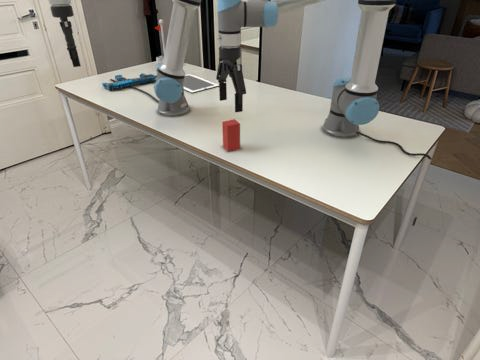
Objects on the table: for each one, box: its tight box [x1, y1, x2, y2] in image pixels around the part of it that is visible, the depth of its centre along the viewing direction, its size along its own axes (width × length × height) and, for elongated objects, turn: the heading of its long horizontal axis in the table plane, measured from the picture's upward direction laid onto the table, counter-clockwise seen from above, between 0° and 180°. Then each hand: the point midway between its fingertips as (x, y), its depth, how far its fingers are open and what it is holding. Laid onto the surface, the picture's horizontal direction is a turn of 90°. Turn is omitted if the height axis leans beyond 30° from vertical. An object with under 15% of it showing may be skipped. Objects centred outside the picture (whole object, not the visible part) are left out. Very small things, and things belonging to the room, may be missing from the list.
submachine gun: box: [101, 73, 157, 91], centre depth 209 cm, size 34×4×25 cm
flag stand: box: [154, 18, 166, 65], centre depth 234 cm, size 13×13×30 cm
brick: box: [221, 118, 241, 152], centre depth 134 cm, size 5×5×11 cm
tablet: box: [183, 73, 219, 94], centre depth 207 cm, size 32×20×1 cm, turn 41°
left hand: (75, 62), depth 140 cm, fingers open, 13 cm apart
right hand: (230, 105), depth 127 cm, fingers open, 13 cm apart
